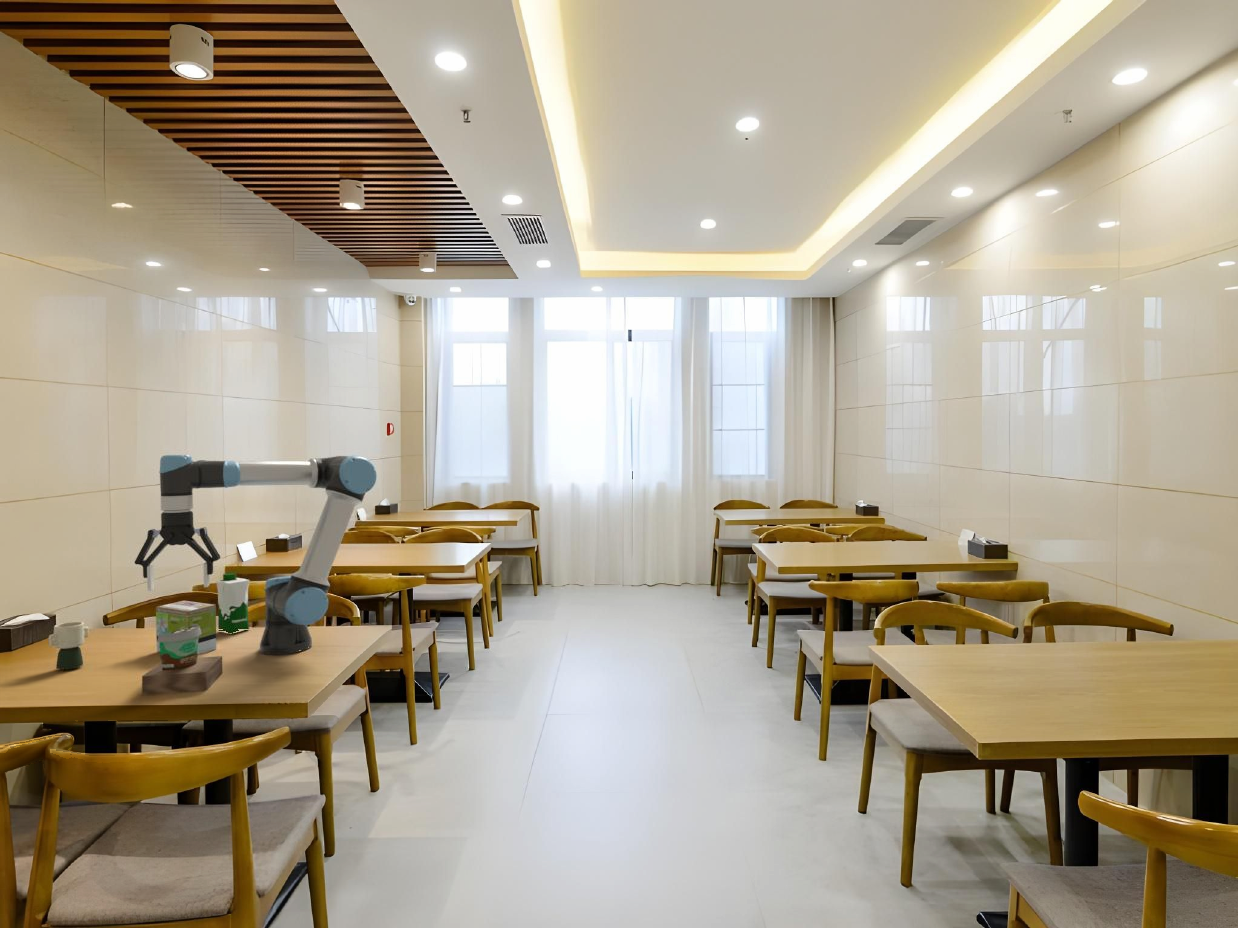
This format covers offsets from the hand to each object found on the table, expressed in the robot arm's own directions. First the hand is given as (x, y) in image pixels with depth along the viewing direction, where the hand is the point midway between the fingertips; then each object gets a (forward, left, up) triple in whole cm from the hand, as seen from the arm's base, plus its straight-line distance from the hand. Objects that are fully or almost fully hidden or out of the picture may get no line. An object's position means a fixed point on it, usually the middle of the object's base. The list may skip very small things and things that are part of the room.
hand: (179, 588), depth 199 cm
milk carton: (0, -56, -26) cm, 61 cm away
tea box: (+8, -33, -26) cm, 42 cm away
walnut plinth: (-2, +3, -26) cm, 26 cm away
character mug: (+35, -21, -26) cm, 48 cm away
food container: (-2, +3, -21) cm, 21 cm away
